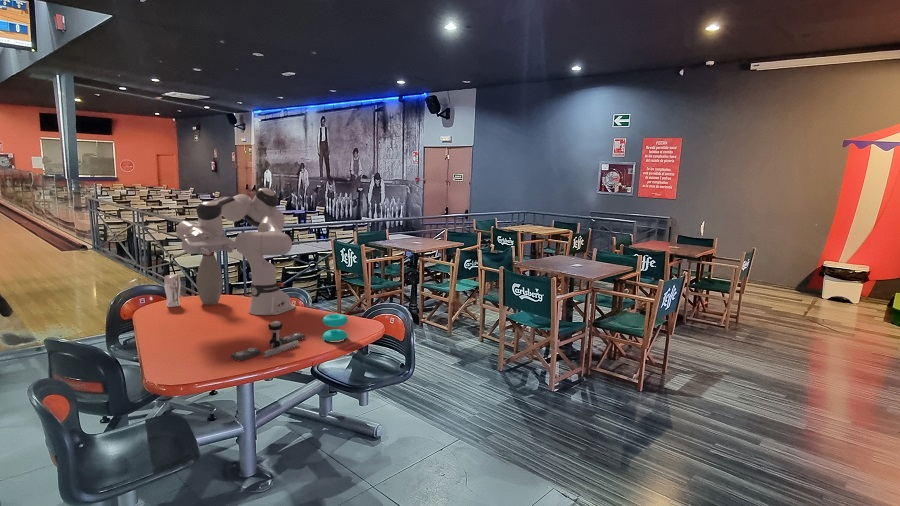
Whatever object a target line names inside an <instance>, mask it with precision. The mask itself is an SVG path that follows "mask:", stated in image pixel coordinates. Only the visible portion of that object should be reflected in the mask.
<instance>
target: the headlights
mask: <svg viewBox="0 0 900 506" xmlns="http://www.w3.org/2000/svg"><path fill="white" fill-rule="evenodd" d="M302 338H305V339H306V334H303V333H300V332H294V333H290V334H287V335H285V336H282V337H280V341H281V346H279V347H276V348H274V347H273V348H272V349H271V348H270V349H268V350H265V351H263V353H262V350H261V349H259V348H255V347H253V346H252V347H251V346H250V347H248V348H245V349H242V350H239V351H237V352H233V353H231V354H230V359H231V358H233V359H232V360H234V359H236V360H235V361H237V360H239V361H238V362H242V361H241V360H243V361H245V360H244V359H246V360H248V359H250V357H251V358H253V357H252V356H254V357H257V356H259V354H260V355H261V354H263V358H264V357H267V358H269V357H272V356H275V355H277V353H278V354H280V353H283V352H285V350H286V351H288V350H287V349H289V350H291V349H293V348H292V347H294V346H297V345H299V346H300V341H301V340H300V339H302ZM297 340H300V341H297ZM284 343H285V344H284ZM297 347H298V346H297ZM290 348H291V349H290ZM294 348H295V347H294ZM282 351H283V352H282ZM274 354H275V355H274ZM256 355H257V356H256ZM271 355H272V356H271ZM268 356H269V357H268ZM247 358H248V359H247Z"/></svg>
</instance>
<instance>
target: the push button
mask: <svg viewBox="0 0 900 506" xmlns="http://www.w3.org/2000/svg"><path fill="white" fill-rule="evenodd" d="M267 327H268V330H270V331H271V339H269V340H268V342H269V343H268V344H269V345H270V347H271V348H272V349H273V348H276V347H279V346H282V343H281V341H280V338H281V337H280V331H281V330H282V328H283V323H281V321H279V320H274V321H271V322H270V323H269V324H267Z"/></svg>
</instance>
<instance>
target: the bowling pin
mask: <svg viewBox="0 0 900 506" xmlns="http://www.w3.org/2000/svg"><path fill="white" fill-rule="evenodd" d="M214 253H215V252H212V253H211V255H206V254H203V255H202V258H201V260H200V262H199V265H198V269H197V273H196V283H195V284H196V291H197V294H198V297H199V299H200V301H201V303H202V304H203V305H207V306H213V305H216V304H218V302H219V301H220V298H221V295H222V290H223V274H222V271H221V267H220V265H219V262H218V260H217V258H216V256H215V254H214Z"/></svg>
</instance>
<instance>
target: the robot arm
mask: <svg viewBox="0 0 900 506" xmlns="http://www.w3.org/2000/svg"><path fill="white" fill-rule="evenodd" d="M278 205H279V202H278V196H277V193H276V192H275V191H274V190H273V189H271V188H269V187H260V188H258V189H257V191H256V192H255V195H254V197H253V198H251V197H250V196H249V195H248V194H245V193H241V194H240V193H239V194H237V195H233V196H230V195H229V196H228V195H225V196H220V197H218V198H214V199H212V200H206V201H202V202H200V203H199V204H198V205H197V206H196V208H195V210H196V214H197V222H198V223H193V222H191V221H189V220H182V221H180V222H179V223H178V224H177V226H176V231H175V232H176V235H177V237H178V238H179V240H181V249H182V251H184V252H186V253H187V254H190V255H191V254H192V255H196V254H197V255H198V254H203V255H204V254H206V255H211V253H212V252H213V253H215V252H224V251H226V252H227V253H228V254H229V253H231V254H232V253H233V250H235V249H236V251H237V252H238V253H239V254H241V255H242V256H243V257H244V258H245V260H247V262H248V264H249V267H250V272H251V284H250V292H251V299H250V306H249V309H248V313H249V314H251V315H254V316H255V315H256V316H270V315H271V316H274V315H275V316H276V315H281V314H284V313H286V312H289V311H292V310H294V309H296V307H297V306H296V305H295V304H294V303H291V298H290V295H288V294H287V293H286V292H284V291H283V290H281V289H280V288H283V287H284V282H277V267H276V265H274V264H273V263H271V262H270V261H268V260H266V259H265V257H264V256H282V255H287V254H288V253H290V251H291V250H292V247H293V241H292V238H291V237H290V235H288V233H287V234H286V233H284V232H283V229H284V225H285V215H284V213H283V212H282V211H281V210H279V209H277V206H278ZM223 218H224V219H225V220H227V221H230V222H239V221H241V220H243V218H244V219H245V221H246V222H247V223H248V224H249V225H251V226H253V227H256V228H257V231H245V232H241V233H238V234H237V236H236V237H235V240H233V239H231V238H229V237H226V236H224V226H223Z"/></svg>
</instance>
